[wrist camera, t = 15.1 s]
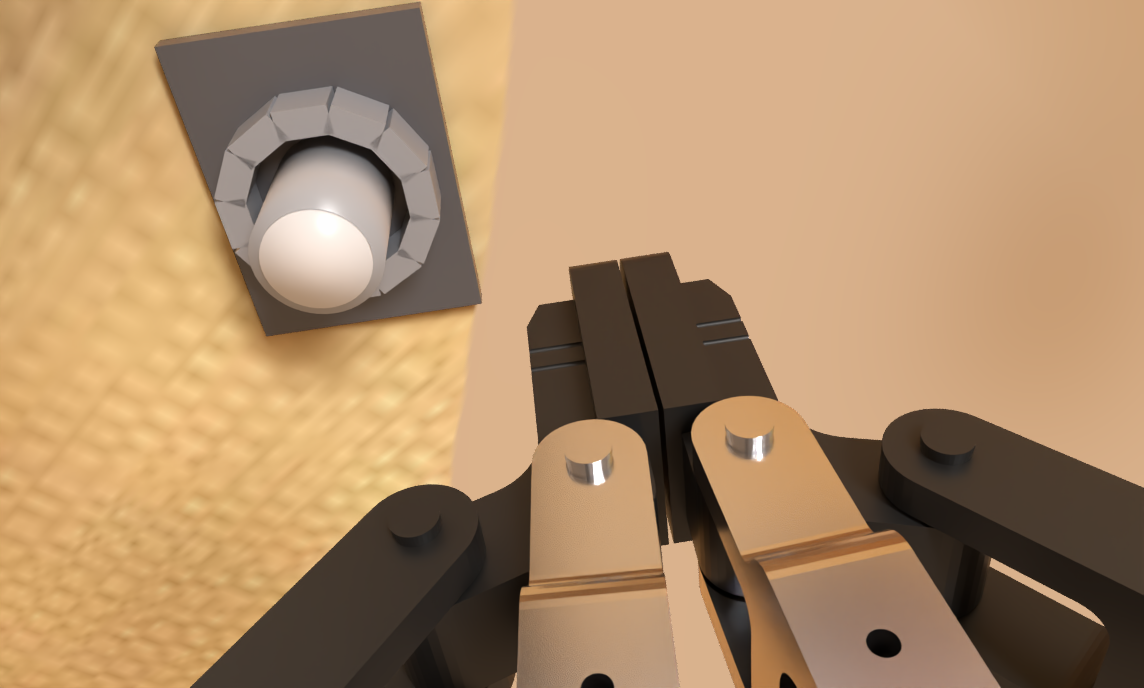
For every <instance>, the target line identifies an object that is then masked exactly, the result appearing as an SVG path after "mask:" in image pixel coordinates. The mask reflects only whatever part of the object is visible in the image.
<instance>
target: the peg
mask: <svg viewBox="0 0 1144 688" xmlns="http://www.w3.org/2000/svg"><path fill="white" fill-rule="evenodd" d="M394 198H395V186H394V181H393V178H392V175H391V172H390V170H389V168H388V166H387V165H386V164H385V163H384V162H383V161H382V160H381V159H380V158H379V157H378V156H377V155H376V154H375V153H374V152H373V151H372V149H369V148H366V147H363V146H360V145H357V144H354V143H351V142H348V141H345V140H343V139H340V138H337V137H334V136H331V135H324V136H317V137H310V138H306V139H304V140H302V141H300V142H298V143H297V144H295V145H294V146H293V147H291V148H290V149H289V150H288V151H287V153H286V154H285V155H284V157H283V158H282V160H281V162H280V164H279V166H278V169H277V171H276V174H275V176H274V179H273V181H272V183H271V186H270V188H269V191H268V193H267V196H266V198H265V201H264V203H263V206H262V208H261V210H260V213H259V215H258V218H257V220H256V223H255V225H254V228H253V230H252V233H251V236H250V239H249V245H248V255H249V261H250V265H251V268H252V270H253V273H254V275H255V277H256V278H257V280H258V281H259V283H260V284H261V285H262V286H263V288H264V289H265V290H266V291H267V292H268V293H269V294H270V295H272V296H273V297H274V298H276V299H277V300H278V301H280V302H282V303H283V304H285V305H287V306H289V307H292V308H294V309H297V310H300V311H304V312H308V313H315V314H332V313H339V312H343V311H346V310H349V309H352V308H354V307H356V306H358V305H360V304H361V303H363V302H364V301H366V300H367V299H368V298H369V297H370V296H371V295H372V294H373V293H374V292H375V290H376V289H377V287H378V286H379V284H380V282H381V280H382V277H383V273H384V268H385V261H386V254H387V247H388V241H389V234H390V227H391V220H392V213H393V206H394Z"/></svg>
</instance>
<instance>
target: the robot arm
mask: <svg viewBox="0 0 1144 688" xmlns="http://www.w3.org/2000/svg"><path fill="white" fill-rule="evenodd" d="M569 274H570V281H571V289H572V296H573V300H569V301H563V302H556V303H550V304H543V305H539V306H538V308H537V310H536V311H535V314H534V315H533V317H532V319H531V320H530V322H529V324H528V326H527V333H528V343H529V352H530V363H531V371H532V383H533V393H534V403H535V413H536V423H537V433H538V446H537V448H536V450H535V452H534V455H533V458H532V463H531V465H530V466H529V468H528V469H527V470H526V471H525V472H524V473H523V474H522V475H521V476H520V477H519V478H518V479H516V480H515V481H514V482H512V483H511V484H509V485H508V486H506V487H504V488H503V489H500V490H498V491H496V492H494V493H492V494H489V495H487V496H484V497H482V498H480V499H477V500H475V501H473V502H472V501H471V499H470V498H469V497H468V496H467V495H465V494H464V493H463V492H461V491H459V490H457V489H455V488H452V487H449V486H444V485H432V484H428V485H419V486H414V487H410V488H407V489H404V490H401V491H398V492H396V493H394V494H392V495H390V496H389V497H387V498H385V499H384V500H382V501H381V502H380V503H378V504H377V505H376V506H375V507H374V508H373V509H372V510H371V511H370V512H369V513H368V514H367V515H365V516H364V517H363V518H362V519H361V520H360V521H359V522H358V523H357V524H356V525H355V526H354V527H353V528H352V529H351V530H350V531H349V532H348V533H347V534H346V535H345V536H344V537H343V538H342V539H341V540H340V541H339V542H338V543H337V544H336V545H335V546H334V547H333V548H332V549H331V550H330V551H329V552H328V553H327V554H326V555H325V556H324V557H323V558H322V559H321V560H320V561H319V562H318V563H317V564H316V565H315V566H313V567H312V568H311V569H310V570H309V571H308V572H307V573H306V574H305V575H304V576H303V577H302V578H301V579H300V580H299V581H298V582H297V583H296V584H295V585H294V586H293V587H292V588H291V589H290V590H289V591H288V592H287V593H286V594H285V595H284V596H283V597H282V598H281V599H280V600H279V601H278V602H277V603H276V604H275V605H274V606H273V607H272V608H271V609H270V610H269V611H268V612H267V613H266V614H265V615H264V616H263V617H261V618H260V619H259V620H258V621H257V622H256V623H255V624H254V625H253V626H252V627H251V628H250V629H249V630H248V631H247V632H246V633H245V634H244V635H243V636H242V637H241V638H240V639H239V640H238V641H237V642H236V643H235V644H234V645H233V646H232V647H231V648H230V649H229V650H228V651H227V652H226V653H225V654H224V655H223V656H222V657H221V658H220V659H219V660H218V661H217V662H216V663H215V664H214V665H213V666H212V667H210V668H209V669H208V670H207V671H206V672H205V673H204V674H203V675H202V676H201V677H200V678H199V679H198V680H197V681H196V682H195V683H194V684H193V685H192V686H191V687H190V688H511V686H512V684H513V681H514V677H515V673H516V672H517V688H680V684H679V677H678V669H677V662H676V655H675V647H674V640H673V632H672V624H671V618H670V609H669V602H668V594H667V588H666V580H665V575H664V573H663V563H662V552H661V546H662V545H668V544H669V540H668V527H667V518H668V522H669V526H670V530H671V534H672V538H673V541H674V543H679V542H685V541H692V540H693V544H694V547H695V551H696V555H697V558H698V569H699V587H700V591H701V595H702V598H703V600H704V603H705V606H706V608H707V611H708V614H709V617H710V619H711V622H712V625H713V628H714V630H715V633H716V636H717V639H718V641H719V644H720V647H721V650H722V652H723V655H724V658H725V661H726V663H727V666H728V669H729V671H730V674H731V677H732V680H733V683H734V685H735V688H1144V488H1143V487H1141V486H1138V485H1136V484H1133V483H1131V482H1129V481H1126V480H1124V479H1122V478H1119V477H1117V476H1115V475H1112V474H1110V473H1107V472H1105V471H1103V470H1100V469H1098V468H1096V467H1093V466H1091V465H1089V464H1086V463H1084V462H1081V461H1079V460H1077V459H1074V458H1072V457H1070V456H1067V455H1065V454H1063V453H1060V452H1058V451H1055V450H1053V449H1051V448H1048V447H1046V446H1043V445H1041V444H1039V443H1036V442H1034V441H1032V440H1029V439H1027V438H1024V437H1022V436H1020V435H1018V434H1015V433H1013V432H1011V431H1008V430H1006V429H1003V428H1001V427H999V426H996V425H994V424H992V423H989V422H987V421H984V420H982V419H980V418H977V417H975V416H972V415H969V414H967V413H963V412H959V411H954V410H947V409H923V410H918V411H913V412H910V413H907V414H904V415H903V416H901V417H898V418H897V419H896V420H894V421H893V422H892V423H891V424H890V425H889V426H888V427H887V428H886V430H885V432H884V434H883V439H882V440H869V439H857V438H845V437H837V436H831V435H827V434H823V433H820V432H817V431H814V430H812V429H809V427H808V426H807V424H806V422H805V421H804V419H803V418H802V417H801V416H800V415H799V414H798V413H797V412H796V411H795V410H794V409H792V408H791V407H789V406H788V405H786V404H784V403H782V402H779V401H778V399H777V397H776V394H775V392H774V390H773V388H772V386H771V383H770V381H769V379H768V377H767V375H766V372H765V370H764V368H763V366H762V363H761V361H760V359H759V357H758V355H757V353H756V350H755V348H754V346H753V344H752V341H751V339H749V336H748V333H747V330H746V328H745V326H744V324H743V322H742V321H741V317H740V315H739V313H738V311H737V309H736V306H735V304H734V302H733V300H732V297H731V295H729V294H728V293H727V292H725V291H724V290H722V289H721V288H720V287H718V286H717V285H715V284H714V283H713V282H712V281H710V280H709V279H706V280H699V281H693V282H686V283H680V280H679V277H678V275H677V272H676V269H675V267H674V264H673V261H672V259H671V256H670V254H669V252H664V253H657V254H650V255H645V256H638V257H631V258H624V259H620V270H619V266H618V263H617V260H612V261H606V262H599V263H593V264H586V265H579V266H573V267H569ZM666 514H667V515H666ZM991 558H993V559H995V560H997V561H999V562H1001V563H1003V564H1005V565H1006V566H1008V567H1010V568H1012V569H1014V570H1016V571H1018V572H1020V573H1022V574H1024V575H1026V576H1028V577H1030V578H1032V579H1033V580H1035V581H1037V582H1039V583H1041V584H1043V585H1045V586H1047V587H1049V588H1051V589H1053V590H1055V591H1057V592H1058V593H1061V594H1062V595H1064V596H1066V597H1068V598H1070V599H1072V600H1074V601H1076V602H1078V603H1080V604H1081V605H1083V606H1085V607H1086V608H1087V609H1089V610H1090V611H1092V612H1093V613H1094V614H1095V615H1096V616H1097V617H1098V618H1099V619H1100V620H1101V622H1102V623H1103V624H1104V626H1102V625H1100V624H1098V623H1096V622H1094V621H1092V620H1090V619H1088V618H1086V617H1085V616H1083V615H1081V614H1079V613H1077V612H1075V611H1073V610H1071V609H1069V608H1068V607H1066V606H1064V605H1062V604H1060V603H1058V602H1056V601H1054V600H1052V599H1050V598H1048V597H1046V596H1045V595H1043V594H1041V593H1039V592H1037V591H1035V590H1033V589H1031V588H1029V587H1028V586H1025V585H1024V584H1022V583H1020V582H1018V581H1016V580H1014V579H1012V578H1011V577H1009V576H1007V575H1005V574H1003V573H1001V572H999V571H997V570H995V569H993V568H992V567H990V566H989V565H990V561H991Z"/></svg>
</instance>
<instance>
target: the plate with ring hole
mask: <svg viewBox="0 0 1144 688" xmlns="http://www.w3.org/2000/svg"><path fill="white" fill-rule="evenodd" d="M154 48H155V50H156V53H157V55H158V58H159V61H160V63H161V66H162V68H163V71H164V74H165V76H166V79H167V81H168V84H169V86H170V89H171V92H172V94H173V97H174V99H175V102H176V104H177V107H178V110H179V112H180V115H181V117H182V120H183V123H184V125H185V128H186V130H187V133H188V135H189V138H190V141H191V143H192V146H193V148H194V151H195V153H196V156H197V159H198V161H199V164H200V166H201V169H202V172H203V174H204V177H205V179H206V182H207V184H208V187H209V190H210V192H211V195H212V197H213V200H214V202H215V206H216V208H217V211H218V213H219V216H220V219H221V221H222V224H223V226H224V229H225V231H226V234H227V237H228V239H229V242H230V244H231V247H232V249H233V251H234V254H235V257H236V259H237V262H238V264H239V267H240V269H241V272H242V275H243V277H244V280H245V282H246V285H247V288H248V290H249V293H250V295H251V298H252V300H253V303H254V306H255V308H256V311H257V313H258V316H259V318H260V321H261V324H262V326H263V329H264V331H265V334H266V336H272V335H279V334H285V333H292V332H298V331H305V330H311V329H318V328H325V327H331V326H338V325H344V324H351V323H357V322H364V321H371V320H377V319H384V318H390V317H397V316H403V315H410V314H417V313H423V312H430V311H436V310H443V309H449V308H456V307H463V306H469V305H476V304H481V303H482V294H481V289H480V284H479V279H478V275H477V270H476V265H475V260H474V255H473V251H472V246H471V241H470V236H469V232H468V227H467V222H466V217H465V212H464V208H463V203H462V198H461V193H460V189H459V184H458V179H457V174H456V169H455V165H454V160H453V155H452V150H451V146H450V141H449V136H448V131H447V126H446V122H445V117H444V112H443V107H442V103H441V98H440V93H439V88H438V83H437V79H436V74H435V69H434V64H433V60H432V55H431V50H430V45H429V40H428V36H427V31H426V26H425V21H424V17H423V12H422V7H421V2H416V3H409V4H402V5H395V6H389V7H382V8H375V9H369V10H362V11H355V12H348V13H342V14H335V15H328V16H321V17H315V18H308V19H301V20H294V21H288V22H281V23H274V24H268V25H261V26H254V27H247V28H241V29H234V30H227V31H220V32H214V33H207V34H200V35H194V36H187V37H180V38H173V39H167V40H160V41H159V42H158V44H157V45H156V46H155V47H154ZM324 135H331V136H334V137H337V138H340V139H343V140H345V141H348V142H351V143H354V144H357V145H360V146H363V147H366V148H369V149H372V151H373V152H374V153H375V154H376V155H377V156H378V157H379V158H380V159H381V160H382V161H383V162H384V163H385V164H386V165H387V166H388V168H389V170H390V172H391V175H392V178H393V181H394V186H395V198H394V206H393V213H392V220H391V227H390V234H389V241H388V247H387V254H386V261H385V268H384V273H383V277H382V280H381V282H380V284H379V286H378V287H377V289H376V290H375V292H374V293H373V294H372V295H371V296H370V297H369V298H368V299H367V300H366V301H364V302H363V303H361V304H360V305H358V306H356V307H354V308H352V309H349V310H346V311H343V312H339V313H332V314H315V313H308V312H304V311H300V310H297V309H294V308H292V307H289V306H287V305H285V304H283V303H282V302H280V301H278V300H277V299H276V298H274V297H273V296H272V295H270V294H269V293H268V292H267V291H266V290H265V289H264V288H263V286H262V285H261V284H260V283H259V281H258V280H257V278H256V277H255V275H254V273H253V270H252V268H251V265H250V261H249V255H248V245H249V239H250V236H251V233H252V230H253V228H254V225H255V223H256V220H257V218H258V215H259V213H260V210H261V208H262V206H263V203H264V201H265V198H266V196H267V193H268V191H269V188H270V186H271V183H272V181H273V179H274V176H275V174H276V171H277V169H278V166H279V164H280V162H281V160H282V158H283V157H284V155H285V154H286V153H287V151H288V150H289V149H290V148H291V147H293V146H294V145H295V144H297V143H298V142H300V141H302V140H304V139H306V138H310V137H317V136H324Z"/></svg>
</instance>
